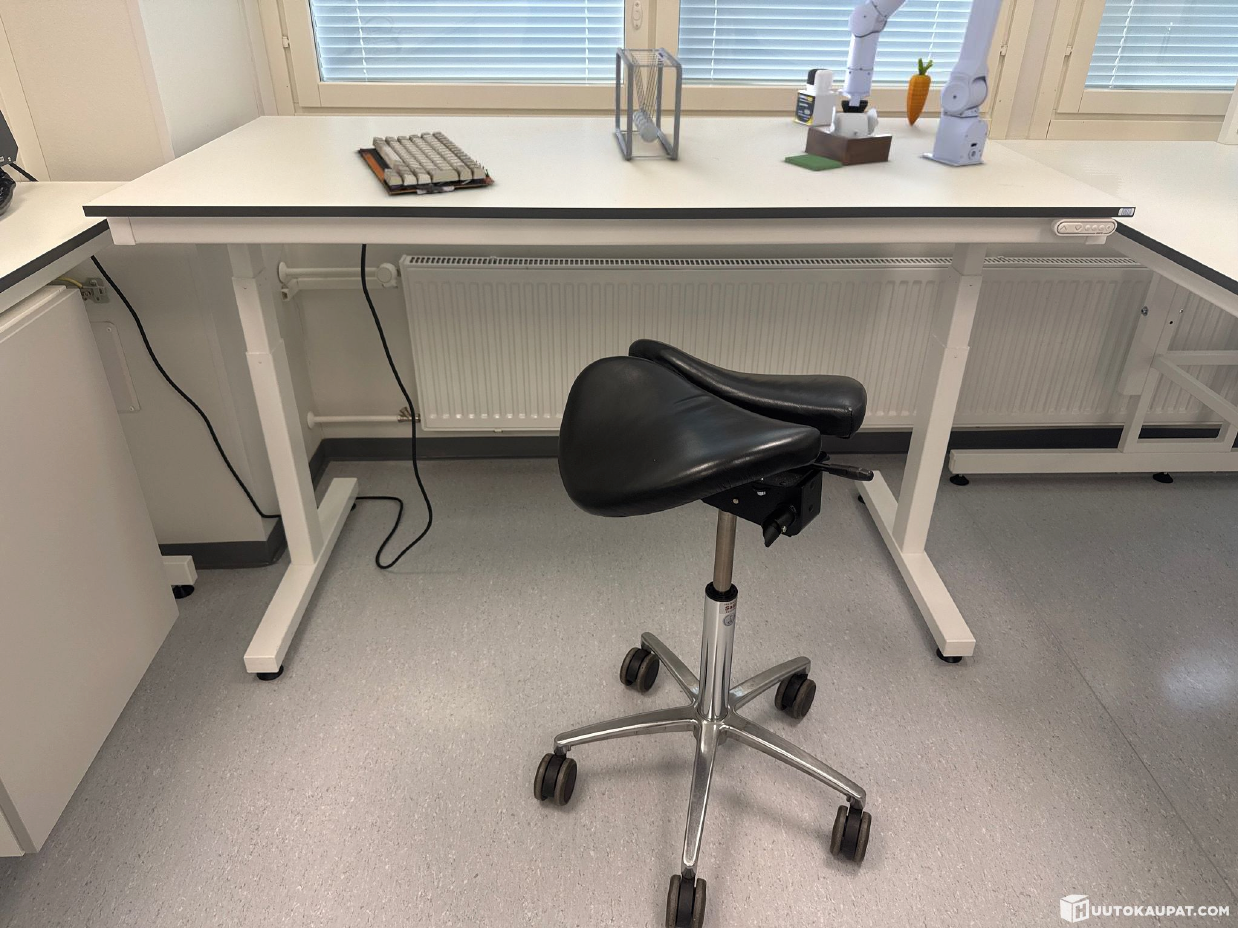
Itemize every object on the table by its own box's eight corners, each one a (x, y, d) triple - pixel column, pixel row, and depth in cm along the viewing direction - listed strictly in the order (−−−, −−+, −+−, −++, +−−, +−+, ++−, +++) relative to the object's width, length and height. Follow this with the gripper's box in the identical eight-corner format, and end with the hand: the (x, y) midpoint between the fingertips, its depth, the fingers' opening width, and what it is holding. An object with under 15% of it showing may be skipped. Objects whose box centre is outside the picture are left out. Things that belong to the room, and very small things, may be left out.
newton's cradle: (678, 162, 164) (683, 64, 155) (626, 162, 164) (628, 64, 154) (659, 132, 189) (663, 46, 180) (614, 132, 189) (615, 46, 179)
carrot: (919, 124, 203) (933, 56, 194) (923, 127, 198) (938, 59, 190) (899, 123, 203) (912, 56, 195) (903, 127, 199) (916, 58, 191)
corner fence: (887, 161, 168) (892, 135, 165) (843, 165, 164) (847, 139, 161) (847, 148, 178) (851, 123, 175) (804, 152, 174) (808, 127, 171)
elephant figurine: (861, 145, 181) (869, 101, 176) (876, 157, 171) (884, 111, 166) (818, 144, 181) (825, 101, 176) (830, 156, 171) (837, 111, 166)
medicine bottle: (793, 121, 203) (800, 68, 196) (817, 119, 206) (824, 66, 199) (811, 126, 198) (818, 72, 191) (834, 124, 200) (842, 70, 194)
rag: (841, 166, 163) (842, 162, 163) (815, 171, 160) (816, 166, 160) (809, 157, 170) (810, 153, 169) (784, 161, 166) (784, 157, 166)
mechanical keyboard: (356, 151, 168) (354, 134, 166) (448, 145, 174) (447, 128, 173) (391, 199, 139) (388, 178, 137) (499, 189, 146) (498, 170, 144)
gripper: (842, 63, 181) (832, 128, 189) (839, 72, 170) (829, 141, 177) (875, 65, 180) (864, 130, 187) (874, 74, 168) (862, 143, 175)
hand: (849, 136), depth 182 cm, fingers closed
